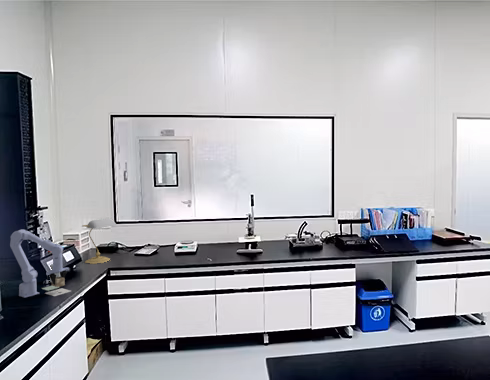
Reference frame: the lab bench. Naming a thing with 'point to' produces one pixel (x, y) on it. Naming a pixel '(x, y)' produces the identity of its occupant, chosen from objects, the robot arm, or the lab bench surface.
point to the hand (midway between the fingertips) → (58, 283)
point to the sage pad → (50, 288)
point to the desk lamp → (92, 224)
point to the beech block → (59, 282)
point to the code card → (58, 292)
